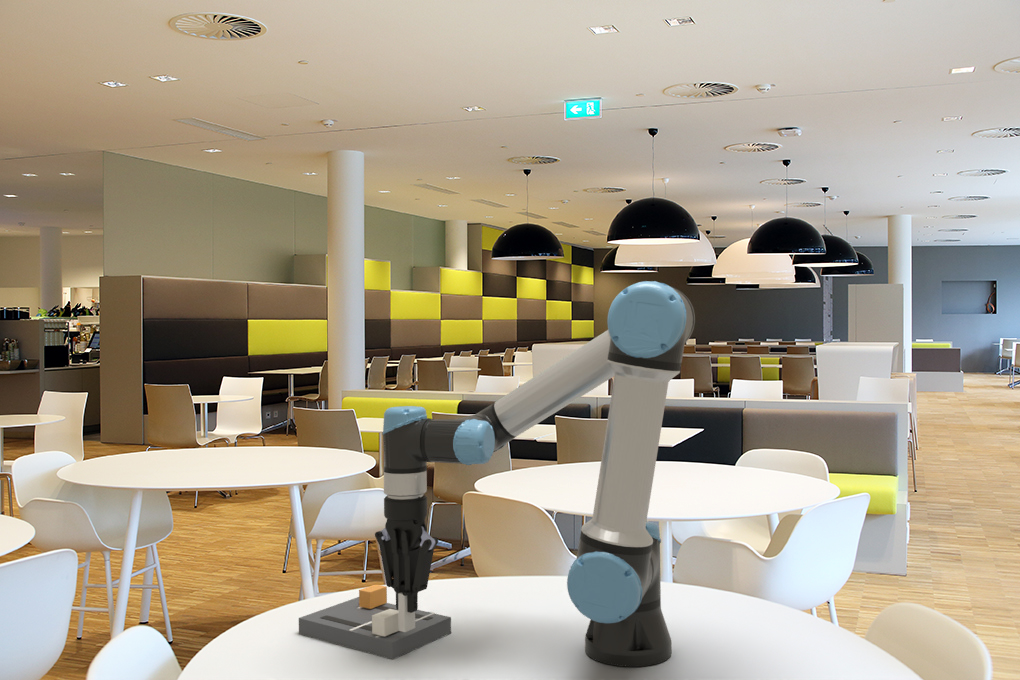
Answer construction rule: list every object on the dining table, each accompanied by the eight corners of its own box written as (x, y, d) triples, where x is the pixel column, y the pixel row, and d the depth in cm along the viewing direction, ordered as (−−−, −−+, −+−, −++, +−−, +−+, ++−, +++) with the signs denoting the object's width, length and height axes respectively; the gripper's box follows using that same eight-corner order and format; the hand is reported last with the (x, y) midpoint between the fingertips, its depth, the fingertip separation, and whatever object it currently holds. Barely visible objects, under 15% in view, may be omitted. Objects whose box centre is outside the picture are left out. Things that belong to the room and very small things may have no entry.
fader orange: (386, 602, 173) (386, 586, 173) (370, 608, 169) (370, 592, 169) (375, 600, 175) (375, 584, 175) (359, 606, 171) (359, 590, 171)
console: (451, 633, 165) (450, 616, 165) (392, 659, 152) (392, 641, 152) (359, 611, 179) (359, 596, 179) (298, 633, 166) (298, 617, 165)
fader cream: (402, 629, 157) (402, 611, 157) (384, 636, 154) (384, 618, 154) (390, 626, 159) (389, 608, 159) (372, 633, 155) (371, 615, 155)
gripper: (448, 495, 153) (449, 630, 153) (392, 488, 160) (394, 616, 160) (419, 502, 147) (421, 642, 147) (363, 494, 154) (364, 628, 154)
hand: (406, 629), depth 154 cm, fingers closed
